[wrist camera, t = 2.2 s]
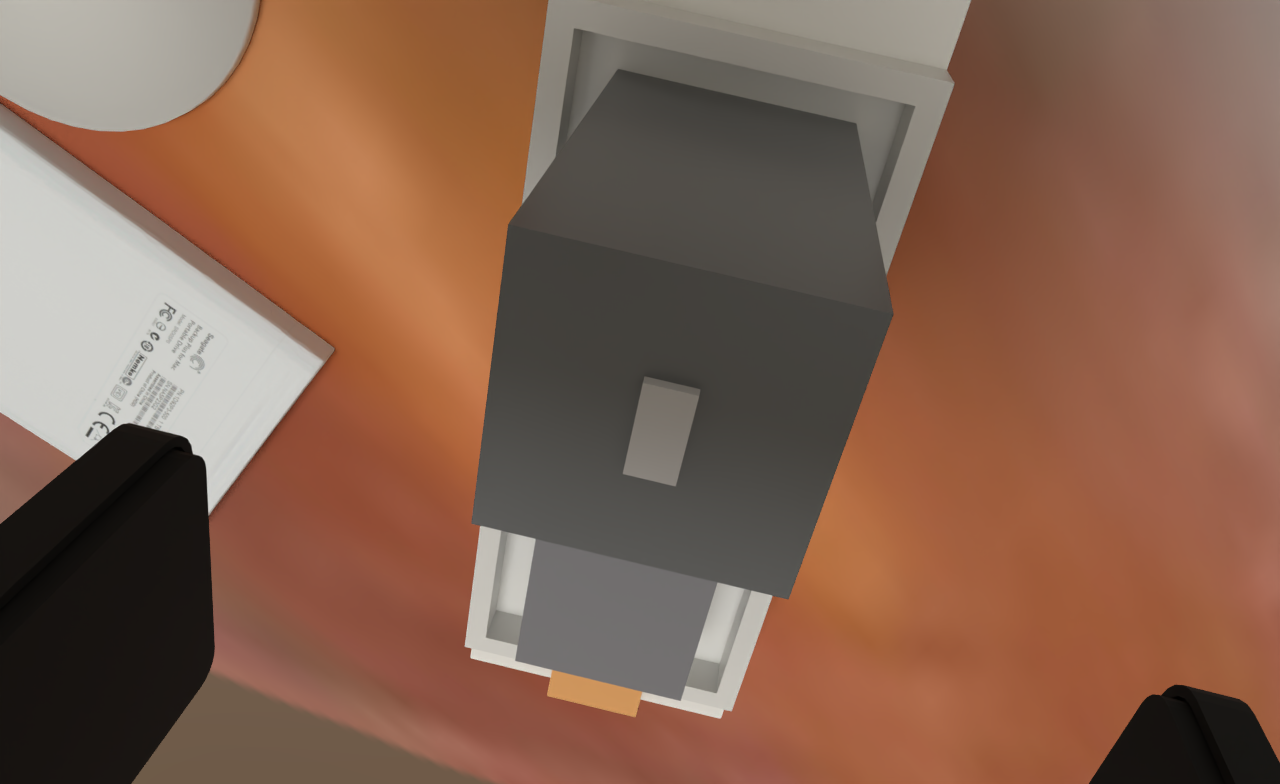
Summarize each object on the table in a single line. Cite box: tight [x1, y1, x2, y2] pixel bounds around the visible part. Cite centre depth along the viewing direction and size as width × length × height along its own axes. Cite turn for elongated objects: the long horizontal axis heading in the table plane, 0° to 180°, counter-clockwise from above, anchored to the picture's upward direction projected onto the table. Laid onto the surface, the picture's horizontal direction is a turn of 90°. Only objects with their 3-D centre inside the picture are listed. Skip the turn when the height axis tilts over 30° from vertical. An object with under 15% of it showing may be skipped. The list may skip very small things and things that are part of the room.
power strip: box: [465, 0, 971, 719], centre depth 20 cm, size 26×7×5 cm, turn 169°
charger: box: [472, 69, 893, 599], centre depth 16 cm, size 4×4×8 cm
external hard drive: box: [0, 103, 335, 516], centre depth 26 cm, size 2×8×12 cm
